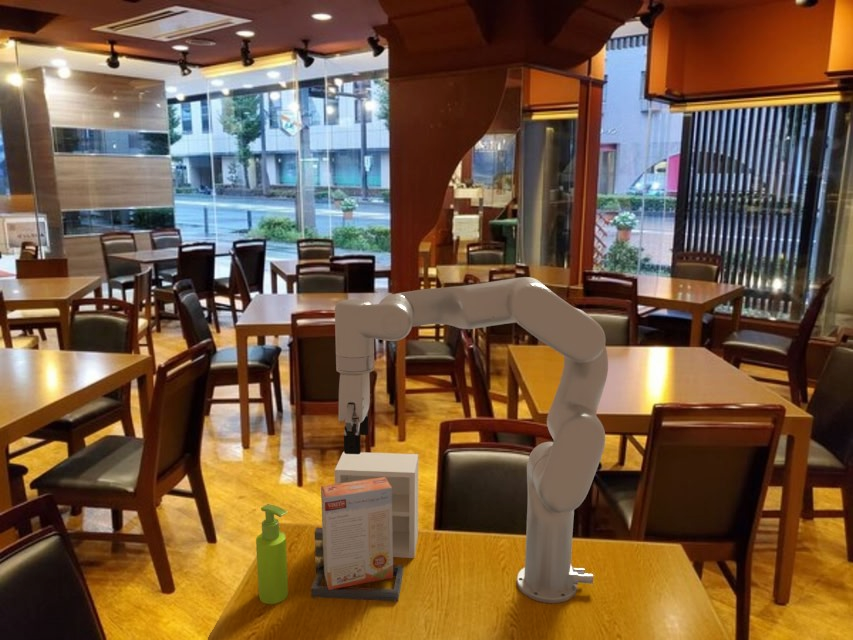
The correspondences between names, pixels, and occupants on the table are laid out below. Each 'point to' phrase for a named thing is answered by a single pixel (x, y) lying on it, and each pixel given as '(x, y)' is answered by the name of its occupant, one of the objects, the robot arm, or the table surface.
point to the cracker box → (357, 532)
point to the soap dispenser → (272, 558)
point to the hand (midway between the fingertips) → (356, 443)
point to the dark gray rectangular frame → (350, 591)
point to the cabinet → (404, 491)
